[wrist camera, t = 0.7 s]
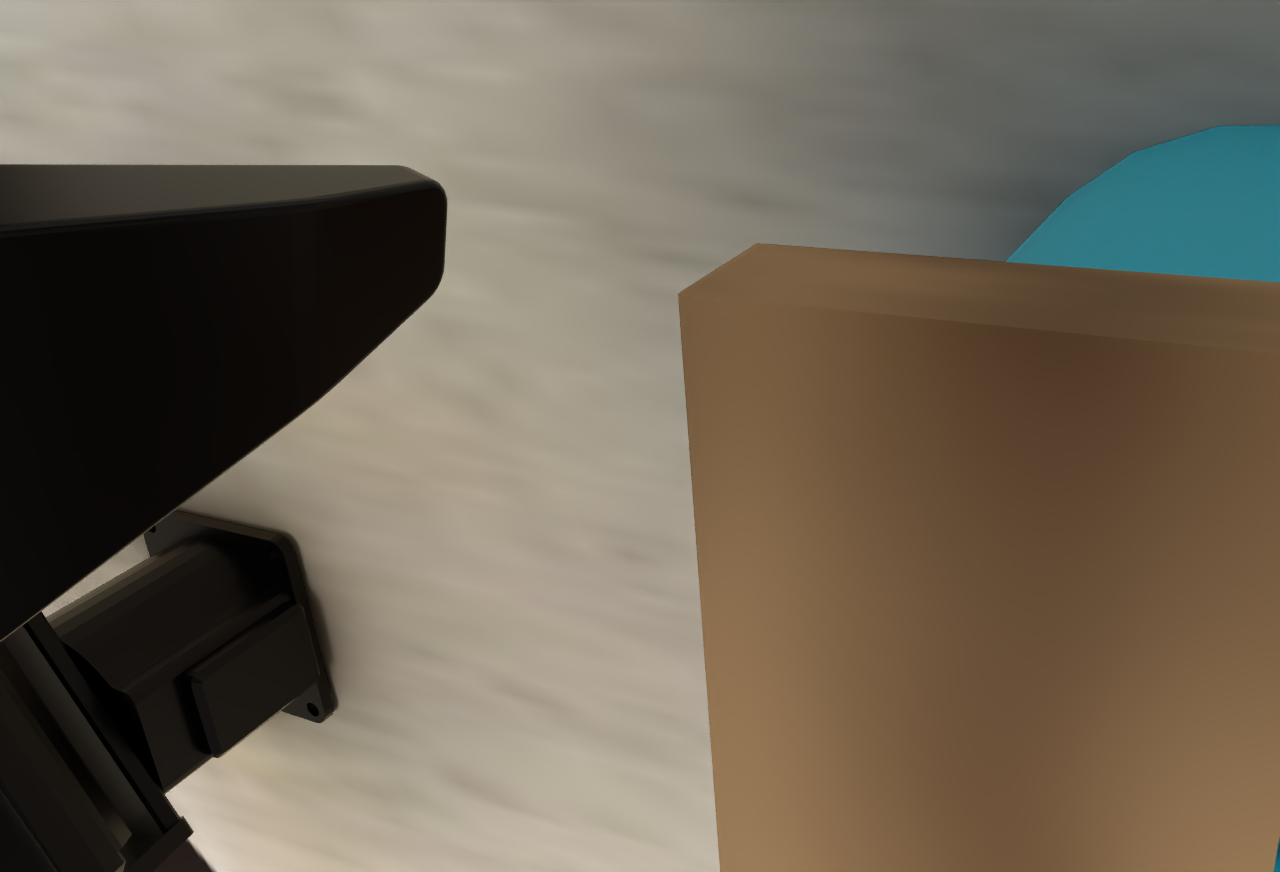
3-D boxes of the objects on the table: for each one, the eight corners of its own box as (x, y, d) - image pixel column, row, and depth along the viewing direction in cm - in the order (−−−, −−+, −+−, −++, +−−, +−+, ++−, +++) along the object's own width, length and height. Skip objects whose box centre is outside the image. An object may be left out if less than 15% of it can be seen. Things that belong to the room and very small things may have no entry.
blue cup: (1412, 19, 17) (1396, 138, 11) (1636, 509, 18) (1737, 875, 12) (761, 329, 25) (531, 504, 19) (944, 664, 26) (785, 938, 20)
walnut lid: (784, 866, 19) (726, 960, 17) (757, 243, 15) (677, 293, 13) (1244, 1027, 16) (1223, 1158, 14) (1372, 289, 12) (1362, 362, 10)
